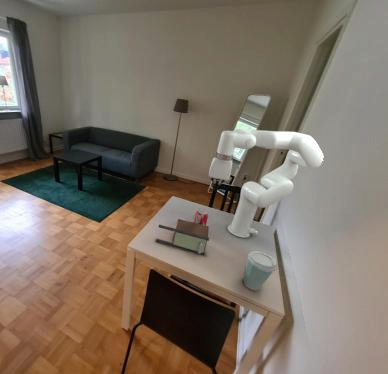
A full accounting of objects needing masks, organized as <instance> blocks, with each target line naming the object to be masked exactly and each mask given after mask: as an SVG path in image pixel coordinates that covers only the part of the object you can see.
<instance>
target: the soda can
mask: <svg viewBox="0 0 388 374" xmlns="http://www.w3.org/2000/svg"><path fill="white" fill-rule="evenodd" d="M208 219H209V211H208V209H204V208H198V209H197V210H196V212H195V216H194V219H193V223H197V224H201V225H205V226H207V223H208Z"/></svg>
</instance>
